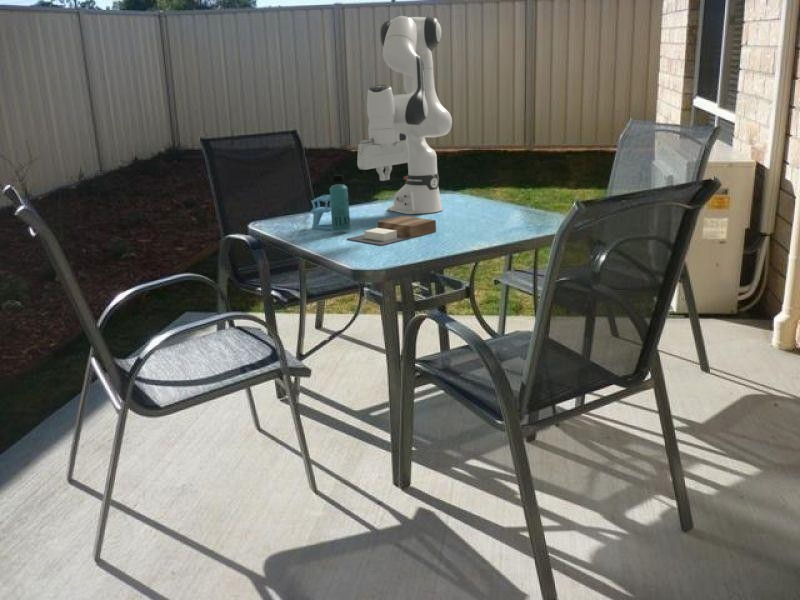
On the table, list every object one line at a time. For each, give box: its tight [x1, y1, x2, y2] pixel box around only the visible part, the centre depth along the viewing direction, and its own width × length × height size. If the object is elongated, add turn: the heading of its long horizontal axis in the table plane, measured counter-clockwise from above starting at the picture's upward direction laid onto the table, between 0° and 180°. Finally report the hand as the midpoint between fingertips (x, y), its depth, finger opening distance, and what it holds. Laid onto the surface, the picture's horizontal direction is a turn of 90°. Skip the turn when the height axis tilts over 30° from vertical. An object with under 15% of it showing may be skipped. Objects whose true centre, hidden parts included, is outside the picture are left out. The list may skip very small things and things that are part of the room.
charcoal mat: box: [346, 233, 412, 247], centre depth 272 cm, size 17×13×1 cm
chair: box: [310, 194, 334, 231], centre depth 293 cm, size 8×8×12 cm
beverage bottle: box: [329, 174, 351, 231], centre depth 283 cm, size 6×7×20 cm
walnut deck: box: [376, 215, 437, 239], centre depth 280 cm, size 16×12×4 cm
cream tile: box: [364, 227, 397, 241], centre depth 272 cm, size 9×6×2 cm, turn 47°
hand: (384, 180), depth 269 cm, fingers closed
